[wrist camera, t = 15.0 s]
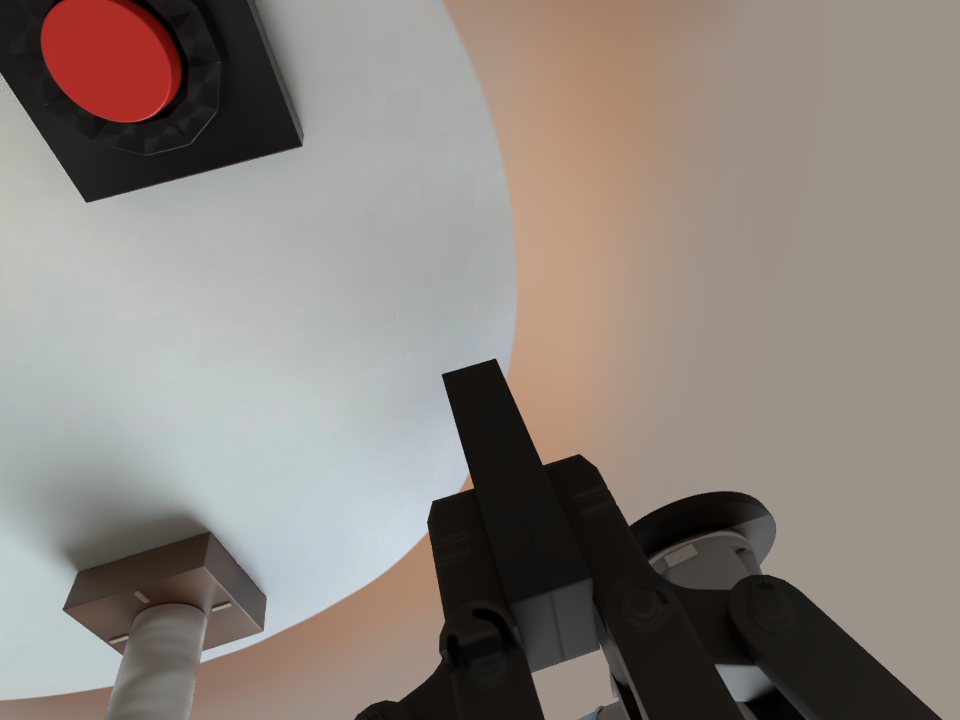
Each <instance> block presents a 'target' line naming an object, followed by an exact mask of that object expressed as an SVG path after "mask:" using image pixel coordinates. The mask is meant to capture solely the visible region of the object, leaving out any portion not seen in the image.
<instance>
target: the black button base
mask: <svg viewBox="0 0 960 720" xmlns="http://www.w3.org/2000/svg"><path fill="white" fill-rule="evenodd" d="M61 1H62V0H0V73H1V74H2V76H3V77H4V79H5V80H6V82H7V83H8V85H9V86H10V88H11V89H12V91H13V92H14V94H15V95H16V97H17V98H18V100H19V101H20V103H21V104H22V106H23V107H24V109H25V110H26V112H27V113H28V115H29V117H30V118H31V120H32V121H33V123H34V124H35V126H36V127H37V129H38V130H39V132H40V133H41V135H42V136H43V138H44V139H45V141H46V142H47V144H48V145H49V147H50V148H51V150H52V151H53V153H54V154H55V156H56V157H57V159H58V160H59V162H60V163H61V165H62V166H63V168H64V169H65V171H66V173H67V174H68V176H69V177H70V179H71V180H72V182H73V183H74V185H75V186H76V188H77V189H78V191H79V192H80V194H81V195H82V197H83V198H84V200H85V201H86V202H87V203H88V202H92V201H96V200H100V199H104V198H108V197H111V196H115V195H119V194H123V193H127V192H130V191H134V190H138V189H142V188H146V187H150V186H153V185H157V184H161V183H165V182H169V181H173V180H176V179H180V178H184V177H188V176H192V175H196V174H199V173H203V172H207V171H211V170H215V169H218V168H222V167H226V166H230V165H234V164H238V163H241V162H245V161H249V160H253V159H257V158H261V157H264V156H268V155H272V154H276V153H280V152H284V151H287V150H291V149H295V148H299V147H302V145H303V138H304V134H303V131H302V128H301V126H300V123H299V120H298V118H297V115H296V112H295V110H294V107H293V104H292V102H291V99H290V96H289V94H288V91H287V88H286V86H285V83H284V80H283V78H282V75H281V72H280V70H279V67H278V64H277V62H276V59H275V56H274V53H273V51H272V48H271V45H270V43H269V40H268V37H267V35H266V32H265V29H264V27H263V24H262V21H261V19H260V16H259V13H258V11H257V8H256V5H255V3H254V0H130V1H132V2H134V3H136V4H138V5H139V6H141V7H142V8H144V9H145V10H147V11H148V12H149V13H150V14H151V15H153V16H154V17H155V18H156V19H157V20H158V21H159V22H160V23H161V25H162V26H163V27H164V28H165V29H166V31H167V32H168V34H169V35H170V37H171V39H172V41H173V42H174V44H175V47H176V49H177V52H178V55H179V59H180V64H181V81H180V85H179V88H178V91H177V93H176V95H175V96H174V98H173V99H172V100H171V101H170V102H169V103H168V104H167V105H166V106H165V107H164V108H162V109H161V110H160V111H159V112H157V113H156V114H155V115H153V116H152V117H150V118H148V119H145V120H142V121H138V122H127V123H125V122H116V121H111V120H108V119H104V118H101V117H99V116H97V115H94V114H92V113H91V112H89V111H87V110H85V109H84V108H82V107H81V106H79V105H78V104H77V103H75V102H74V101H73V100H72V99H71V98H70V97H69V96H68V95H67V94H66V93H65V92H64V91H63V90H62V89H61V88H60V87H59V85H58V84H57V83H56V81H55V80H54V78H53V77H52V75H51V73H50V71H49V69H48V67H47V65H46V63H45V60H44V57H43V53H42V48H41V30H42V25H43V22H44V19H45V18H46V16H47V14H48V12H49V11H50V10H51V9H52V8H53V7H54V6H55V5H56V4H57V3H59V2H61Z"/></svg>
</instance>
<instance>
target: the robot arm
mask: <svg viewBox="0 0 960 720" xmlns="http://www.w3.org/2000/svg"><path fill="white" fill-rule="evenodd" d="M442 377H443V381H444V384H445V388H446V391H447V395H448V398H449V402H450V405H451V409H452V412H453V416H454V419H455V423H456V426H457V430H458V433H459V437H460V440H461V443H462V447H463V450H464V454H465V457H466V461H467V464H468V468H469V471H470V475H471V478H472V482H473V485H474V489H471V490H467V491H464V492H461V493H457V494H454V495H451V496H448V497H445V498H441V499H438V500H435V501H433V502H432V506H431V510H430V514H429V517H428V521H427V524H428V530H429V534H430V541H431V545H432V551H433V557H434V561H435V568H436V573H437V578H438V584H439V590H440V595H441V601H442V605H443V611H444V617H445V624H444V626H443V629H442V631H441V634H440V640H439V652H440V654H441V656H442V660H441V663H440V664H439V666H438V667H437V669H436V670H435V672H434V673H433V675H431V676H430V677H429V678H428V679H427V680H426V681H425V682H424V683H423V684H422V685H420V686H419V687H418V688H416V689H415V690H414V691H412V692H411V693H410V694H408V695H407V696H406V697H405V698H403V699H402V700H401V701H399V702H393V701H387V700H385V701H382V702H378V703H375V704H372V705H370V706H369V707H368V708H366V709H365V710H364V711H362V712H361V713H359V714H358V715H357V716H356V718H355V719H354V720H545V719H544V715H543V712H542V708H541V705H540V702H539V698H538V695H537V692H536V688H535V685H534V681H533V678H532V675H531V673H532V672H535V671H538V670H541V669H544V668H546V667H550V666H553V665H556V664H558V663H561V662H564V661H567V660H570V659H573V658H576V657H579V656H582V655H585V654H588V653H591V652H594V651H597V650H599V649H600V645H601V647H602V649H603V652H604V654H605V657H606V659H607V662H608V664H609V671H610V681H611V688H612V693H613V697H614V698H615V697H618V698H619V701H617V702H615V703H612V704H610V705H607V706H605V707H604V706H600V707H598V708H597V709H596V710H595V712H592V713H590V714H588V715H586V716H584V717H582V718H579V719H578V720H942V719H941V718H940V717H939V716H938V715H937V714H935V713H934V712H933V711H932V710H931V709H930V708H929V707H928V706H927V705H925V704H924V703H923V702H922V701H921V700H920V699H919V698H918V697H917V696H916V695H914V694H913V693H912V692H911V691H910V690H909V689H908V688H906V686H905V685H903V684H902V683H901V682H900V681H899V680H898V679H897V678H896V677H895V676H893V675H892V674H891V673H890V672H889V671H888V670H887V669H886V668H885V667H884V666H882V665H881V664H880V663H879V662H878V661H877V660H876V659H875V658H874V657H873V656H871V655H870V654H869V653H868V652H867V651H866V650H865V649H864V648H863V647H861V646H860V645H859V644H858V643H857V642H856V641H855V640H854V639H853V638H852V637H850V636H849V635H848V634H847V633H846V632H845V631H844V630H843V629H842V628H840V627H839V626H838V625H837V624H836V623H835V622H834V621H833V620H831V618H829V617H828V616H827V615H826V614H825V613H824V612H823V611H822V610H821V609H820V608H818V607H817V606H816V605H815V604H814V603H813V602H812V601H811V600H810V599H808V598H807V597H806V596H805V595H804V594H803V593H802V592H801V591H799V590H798V589H797V588H795V587H794V586H792V585H791V584H789V583H788V582H786V581H785V580H782V579H779V578H776V577H773V576H770V575H762V572H761V569H760V566H759V563H758V560H757V557H756V554H755V552H754V550H753V549H752V547H751V545H750V543H749V542H748V541H747V539H746V538H745V537H744V535H743V534H742V533H741V532H740V531H738V530H737V529H735V528H732V527H728V526H707V527H702V528H697V529H693V530H690V531H687V532H684V533H682V534H679V535H677V536H675V537H673V538H671V539H669V540H667V541H665V542H663V543H662V544H660V545H658V546H657V547H655V548H654V549H653V550H651V551H650V552H649V553H647V554H646V555H644V553H643V551H642V549H641V547H640V546H639V544H638V542H637V540H636V538H635V536H634V535H633V533H632V531H631V529H630V527H629V525H628V524H627V522H626V520H625V518H624V516H623V515H622V513H621V511H620V509H619V507H618V506H617V505H616V502H615V500H614V498H613V496H612V494H611V493H610V491H609V490H608V488H607V485H606V483H605V482H604V480H603V478H602V476H601V474H600V473H599V471H598V469H597V467H595V466H594V465H593V464H591V463H590V462H589V461H588V460H586V459H585V458H584V457H583V456H581V455H580V454H578V455H575V456H572V457H569V458H566V459H562V460H559V461H556V462H552V463H549V464H546V465H542V462H541V460H540V458H539V455H538V453H537V451H536V449H535V446H534V444H533V442H532V440H531V437H530V435H529V433H528V431H527V428H526V426H525V424H524V421H523V419H522V417H521V415H520V412H519V410H518V408H517V405H516V403H515V401H514V399H513V396H512V394H511V392H510V390H509V388H508V385H507V383H506V380H505V378H504V376H503V374H502V371H501V369H500V367H499V365H498V362H497V360H496V359H492V360H489V361H485V362H482V363H479V364H475V365H472V366H469V367H465V368H462V369H459V370H455V371H452V372H448V373H445V374H442ZM599 642H600V644H599Z"/></svg>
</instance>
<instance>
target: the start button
mask: <svg viewBox="0 0 960 720" xmlns="http://www.w3.org/2000/svg"><path fill="white" fill-rule="evenodd" d="M41 48H42V53H43V57H44V60H45V63H46V65H47V67H48V69H49V71H50V73H51V75H52V77H53V78H54V80H55V81H56V83H57V84H58V85H59V87H60V88H61V89H62V90H63V91H64V92H65V93H66V94H67V95H68V96H69V97H70V98H71V99H72V100H73V101H74V102H75V103H77V104H78V105H79V106H81V107H82V108H84V109H85V110H87V111H89V112H91V113H92V114H94V115H97V116H99V117H101V118H104V119H108V120H111V121H116V122H125V123H127V122H138V121H142V120H145V119H148V118H150V117H152V116H153V115H155V114H156V113H157V112H159V111H160V110H161V109H162V108H164V107H165V106H166V105H167V104H168V103H169V102H170V101H171V100H172V99H173V98H174V96H175V95H176V93H177V91H178V88H179V85H180V81H181V64H180V59H179V55H178V52H177V49H176V47H175V44H174V42H173V41H172V39H171V37H170V35H169V34H168V32H167V31H166V29H165V28H164V27H163V26H162V25H161V23H160V22H159V21H158V20H157V19H156V18H155V17H154V16H153V15H151V14H150V13H149V12H148V11H147V10H145V9H144V8H142V7H141V6H139V5H138V4H136V3H134V2H132V1H130V0H62V1H61V2H59V3H57V4H56V5H55V6H54V7H53V8H52V9H51V10H50V11H49V12H48V14H47V16H46V18H45V19H44V22H43V25H42V30H41Z"/></svg>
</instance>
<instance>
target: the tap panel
mask: <svg viewBox="0 0 960 720" xmlns="http://www.w3.org/2000/svg"><path fill="white" fill-rule="evenodd" d="M266 600H267V599H266V597H265V596H264V595H263V594H262V592H261V591H260V590H259V589H258V588H257V587H256V585H255V584H254V583H253V582H252V581H251V579H250V578H249V577H248V576H247V575H246V573H245V572H244V571H243V570H242V569H241V567H240V566H239V565H238V564H237V563H236V562H235V560H234V559H233V558H232V557H231V556H230V554H229V553H228V552H227V551H226V550H225V548H224V547H223V546H222V545H221V544H220V543H219V541H218V540H217V539H216V538H215V537H214V535H213V534H212V533H211V532H209V533H206V534H203V535H199V536H196V537H193V538H190V539H186V540H183V541H180V542H177V543H173V544H170V545H167V546H164V547H160V548H157V549H154V550H151V551H147V552H144V553H141V554H138V555H134V556H131V557H128V558H125V559H121V560H118V561H115V562H112V563H108V564H105V565H102V566H99V567H95V568H92V569H89V570H86V571H82V572H79V573H78V574H77V576H76V579H75V581H74V584H73V586H72V588H71V591H70V593H69V596H68V598H67V601H66V603H65V605H64V608H63V611H64V612H66V613H67V614H68V615H70V616H71V617H72V618H74V619H75V620H76V621H78V622H79V623H80V624H82V625H83V626H84V627H86V628H87V629H88V630H90V631H91V632H92V633H94V634H95V635H96V636H98V637H99V638H100V639H102V640H103V641H104V642H106V643H107V644H108V645H110V646H111V647H112V648H114V649H115V650H116V651H118V652H119V653H120V654H122V655H123V654H124V651H125V648H126V644H127V641H128V638H129V634H130V631H131V628H132V624H133V621H134V619H135V617H136V616H137V615H138V614H139V613H141V612H142V611H144V610H146V609H148V608H150V607H153V606H157V605H161V604H171V603H175V604H185V605H190V606H193V607H196V608H198V609H199V610H201V611H202V612H203V613H204V614H205V615H206V617H207V625H206V631H205V636H204V642H203V647H202V651H204V650H207V649H211V648H214V647H217V646H220V645H223V644H226V643H229V642H232V641H235V640H238V639H241V638H245V637H248V636H251V635H254V634H257V633H260V632H263V631H264V620H265V610H266Z"/></svg>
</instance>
